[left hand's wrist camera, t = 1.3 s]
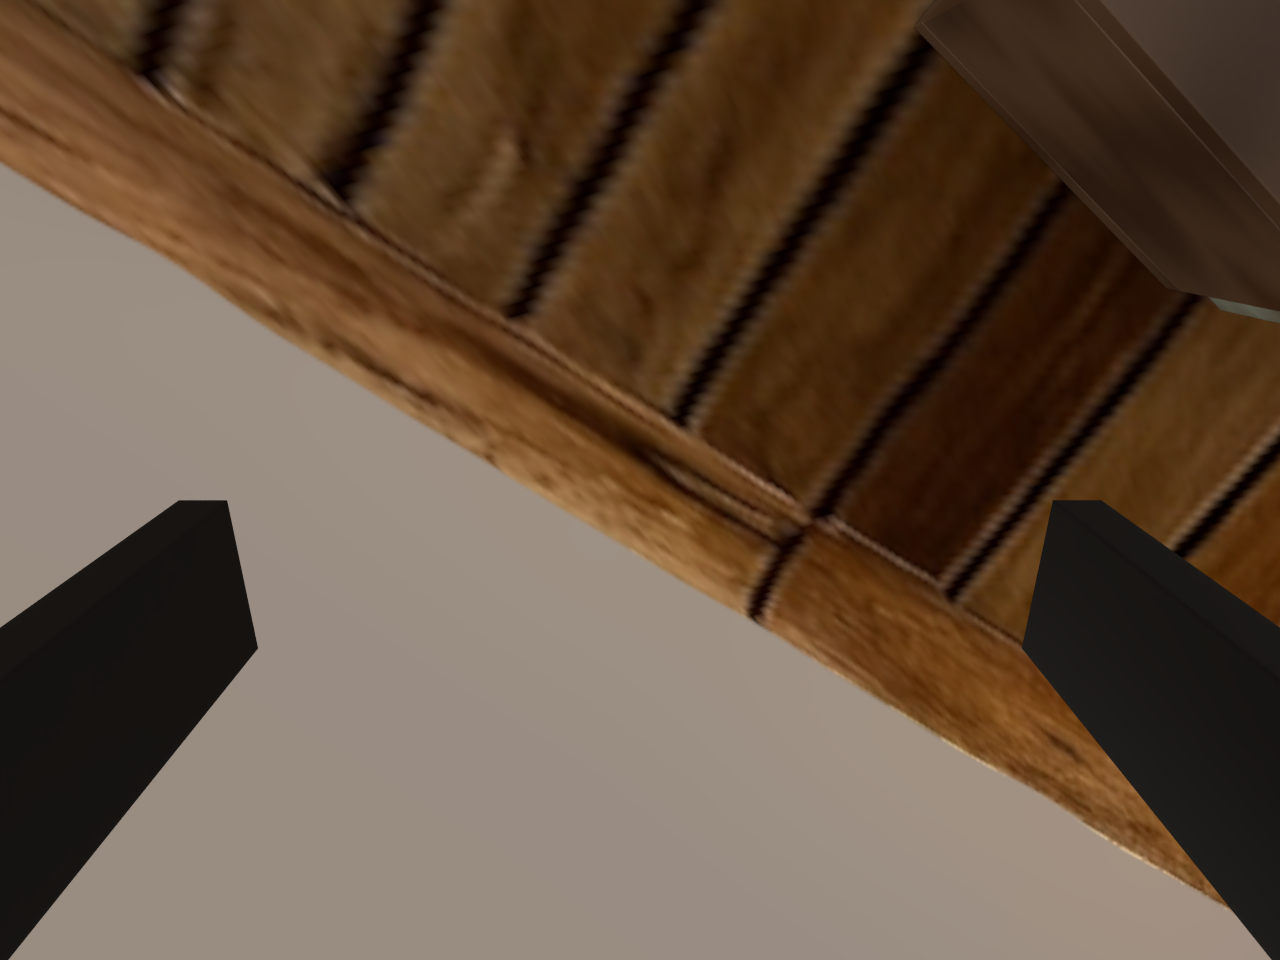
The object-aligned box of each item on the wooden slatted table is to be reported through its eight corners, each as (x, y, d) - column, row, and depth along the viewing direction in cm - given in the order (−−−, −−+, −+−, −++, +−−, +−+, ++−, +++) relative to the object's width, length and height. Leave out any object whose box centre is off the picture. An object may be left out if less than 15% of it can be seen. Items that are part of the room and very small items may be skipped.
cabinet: (1380, 79, 32) (1750, 30, 21) (1166, 289, 35) (1397, 336, 24) (1129, -237, 28) (1425, -487, 17) (912, 26, 31) (1055, -52, 20)
